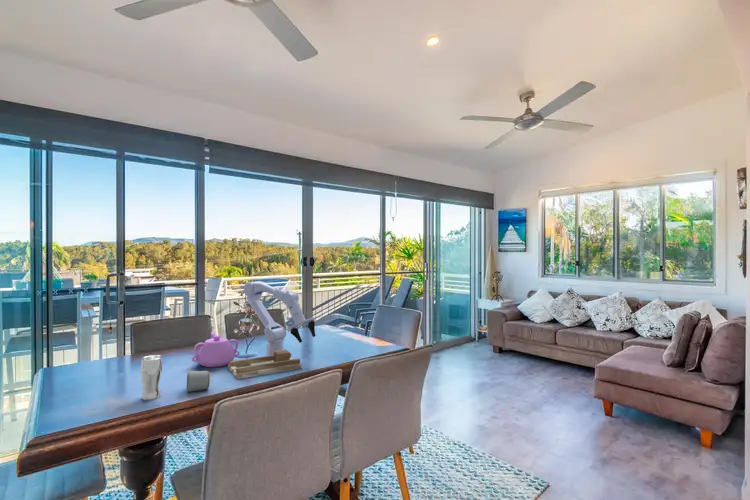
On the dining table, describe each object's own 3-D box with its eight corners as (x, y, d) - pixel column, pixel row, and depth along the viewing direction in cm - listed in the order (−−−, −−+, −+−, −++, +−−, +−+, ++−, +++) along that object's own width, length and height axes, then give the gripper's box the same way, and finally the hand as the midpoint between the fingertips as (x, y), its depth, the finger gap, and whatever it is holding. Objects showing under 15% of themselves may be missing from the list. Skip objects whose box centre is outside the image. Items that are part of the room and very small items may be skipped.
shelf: (228, 368, 180) (228, 360, 180) (288, 359, 196) (288, 351, 196) (237, 379, 166) (237, 370, 166) (301, 368, 182) (301, 360, 182)
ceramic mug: (210, 391, 151) (210, 371, 151) (187, 394, 147) (187, 374, 147) (206, 383, 160) (207, 365, 160) (185, 386, 156) (185, 367, 156)
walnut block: (273, 361, 186) (273, 351, 186) (285, 359, 190) (285, 349, 190) (277, 364, 181) (277, 353, 181) (289, 362, 185) (289, 352, 185)
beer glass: (146, 393, 147) (146, 355, 147) (164, 393, 148) (165, 355, 148) (136, 400, 140) (137, 360, 140) (156, 400, 141) (156, 360, 141)
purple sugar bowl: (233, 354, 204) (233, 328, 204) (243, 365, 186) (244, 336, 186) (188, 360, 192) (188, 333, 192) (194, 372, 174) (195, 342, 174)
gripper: (286, 317, 185) (297, 342, 182) (312, 307, 193) (323, 332, 190) (282, 321, 190) (292, 346, 187) (307, 311, 199) (318, 335, 196)
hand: (307, 339), depth 189 cm, fingers open, 7 cm apart
